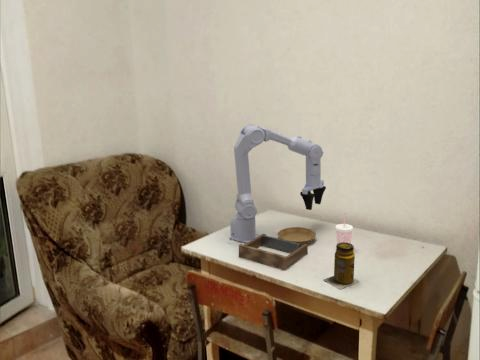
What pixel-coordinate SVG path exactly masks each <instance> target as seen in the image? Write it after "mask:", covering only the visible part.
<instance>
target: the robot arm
mask: <svg viewBox="0 0 480 360" xmlns="http://www.w3.org/2000/svg"><path fill="white" fill-rule="evenodd" d="M269 141H273V142H276V143H279V144H282V145H284V146H287V149H288V150H289V151H291V152H294V153H296V154H299V155H302V156H305V184H304V186H303V188H301V192H300V193H299V194H300V196H301V198H302V200H303V202H304V206H305V207H304V208H305V209H306V210H309V211H311V210H312V209H313V202H314V204H316V205H321V203H322V200H323V199H322V198H323V195H324V193H325V190H326V189H327V186H326V185H325V183H324V182H325V181H324V179H323V180H322V179H321V172H322V171H321V170H322V169H321V164H322V163H321V159H322V157H323V156H324V151H323V149H322V147H321V146H320V145H319V144H317V143H314V142H313V141H312V140H310V139H309V140H306V139H304V138H302V136H300V135H294V136H291V137H289V136H287V135H284V134H282V133H279V132H277V131H274V130H272V129H270V128H267V127H263V126H259V125H257V126H256V125H255V124H246V125H245V126H244V127H243V128H242V129H241V130H240V131H239V135H238V137H237V140H236V142H235V144H234V147H233V153H234V162H235V174H236V175H235V176H236V177H235V178H236V182H237V183H236V186H237V194H236V200H235V204H234V208H235V210H236V211H237V213H236V214H234V215H233V216H232V217H231V218H230V222H229V223H230V237H229V239H230V240H234V241H237V242H242V243H245V244H246V243H248V242H249V241H251V240H253V239H255V238H256V237H258V236H260V235H258V234H256V215H257V213H258V210H257V206H256V205H255V203H254V197H253V195H252V186H251V175H250V162H249V153H250V152H251V151H252V150H253V149H254V148H256V147H257V146H259V145H261V144H262V143H263V142H265V143H266V142H269ZM324 185H325V186H324ZM312 192H313V193H312Z"/></svg>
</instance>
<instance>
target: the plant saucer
mask: <svg viewBox="0 0 480 360" xmlns="http://www.w3.org/2000/svg"><path fill="white" fill-rule="evenodd" d="M277 236H278V238H279V239H283V240H287V241H291V242H295V243H299V244H301V246H302V245H303V244H308V245H309V243H311V242H312V241H313V240H315V238H316V237H317V232H315V231H314V230H312V229H310V228H306V227H301V226H300V227H299V226H298V227H297V226H296V227H294V226H292V227H286V228H282V229H280V230H279V231H278V232H277Z"/></svg>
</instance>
